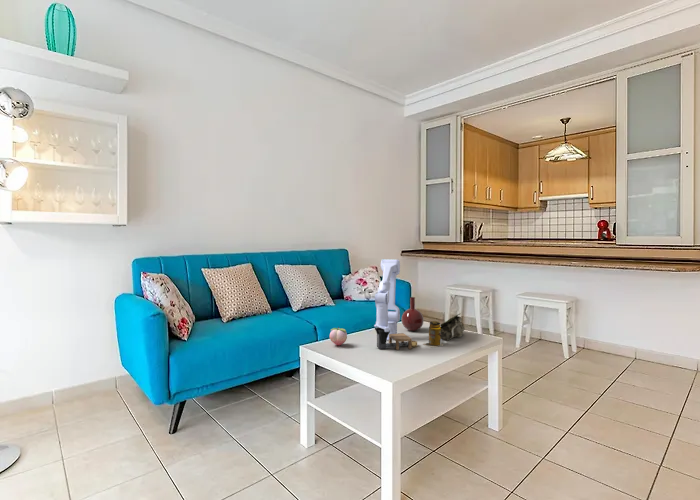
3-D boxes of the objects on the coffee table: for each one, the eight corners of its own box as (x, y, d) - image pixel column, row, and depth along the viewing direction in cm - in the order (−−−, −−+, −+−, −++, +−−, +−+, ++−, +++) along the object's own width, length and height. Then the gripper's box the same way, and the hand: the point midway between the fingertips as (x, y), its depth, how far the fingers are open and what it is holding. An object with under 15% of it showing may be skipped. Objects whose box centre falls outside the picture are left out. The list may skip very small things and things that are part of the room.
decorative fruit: (349, 343, 203) (349, 325, 203) (345, 348, 195) (344, 328, 195) (332, 342, 206) (332, 324, 205) (327, 346, 198) (327, 327, 198)
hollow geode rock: (441, 351, 205) (460, 334, 198) (425, 333, 209) (443, 315, 203) (459, 338, 227) (477, 323, 221) (444, 322, 232) (461, 306, 225)
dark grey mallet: (376, 346, 196) (376, 333, 196) (406, 344, 200) (406, 331, 200) (379, 348, 193) (379, 334, 193) (409, 346, 197) (409, 332, 197)
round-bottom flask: (412, 327, 241) (412, 295, 240) (428, 331, 230) (428, 297, 229) (397, 330, 233) (397, 297, 233) (412, 334, 222) (412, 300, 222)
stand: (388, 344, 202) (388, 334, 202) (403, 343, 204) (403, 333, 204) (396, 350, 192) (396, 339, 192) (411, 349, 194) (411, 338, 194)
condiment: (444, 345, 200) (444, 322, 200) (432, 347, 196) (432, 324, 195) (433, 342, 207) (434, 319, 206) (422, 344, 202) (422, 321, 201)
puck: (406, 345, 201) (406, 341, 201) (414, 344, 202) (414, 340, 202) (410, 347, 196) (410, 343, 196) (419, 347, 198) (419, 342, 197)
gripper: (370, 313, 201) (370, 339, 201) (379, 319, 186) (379, 347, 187) (383, 312, 202) (383, 338, 203) (393, 318, 188) (393, 346, 189)
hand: (382, 342), depth 195 cm, fingers closed on dark grey mallet, 4 cm apart
